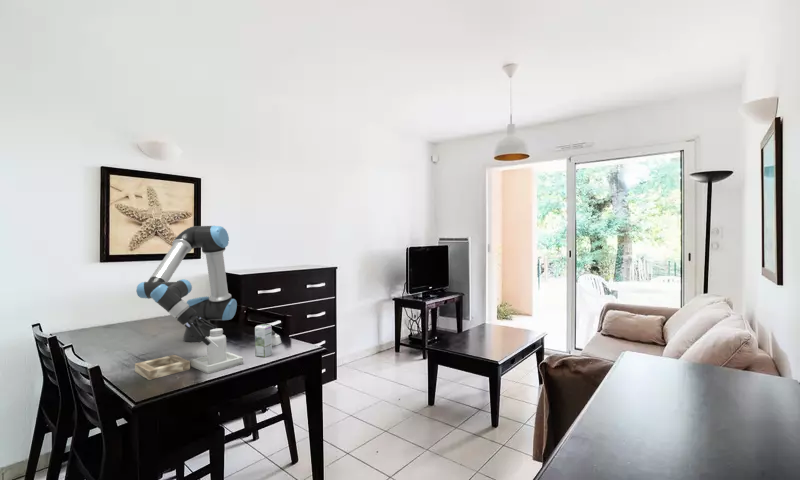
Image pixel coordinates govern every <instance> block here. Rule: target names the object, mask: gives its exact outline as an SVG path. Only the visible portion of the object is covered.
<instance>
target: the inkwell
mask: <svg viewBox="0 0 800 480" xmlns="http://www.w3.org/2000/svg"><path fill="white" fill-rule="evenodd" d="M280 344H282V340H281V336H280V335H279V334H277V333H276V332H275V331H274V330H273V329H272V347H274V346H279V345H280Z"/></svg>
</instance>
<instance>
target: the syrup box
mask: <svg viewBox="0 0 800 480" xmlns="http://www.w3.org/2000/svg"><path fill="white" fill-rule="evenodd" d="M272 330H273V329H272V325H271V324H257V325H256V326H255V327H254V344H255V346H254V347H255V351H254V352H255V357H262V358H267V357H269V356H271V355H273V346H272Z"/></svg>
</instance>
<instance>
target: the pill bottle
mask: <svg viewBox="0 0 800 480" xmlns="http://www.w3.org/2000/svg"><path fill="white" fill-rule="evenodd" d="M223 333H224V330H223V328H216V329H212V330H210V335H211V336H209V337H208V338H209V339H210V340H212V341H213V342H214V343H215V344H216V345H217V346H218V347H217V348H216V349H215V350H214V351H212V350H211V349H210V348H209V347H207V346H206V354H207V355H206V356H207V362H208V364H209V365H212V364H216V363H220V362H223V361H227V352H228V351H227V337H226V335H225V334H223Z"/></svg>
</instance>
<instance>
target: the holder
mask: <svg viewBox="0 0 800 480" xmlns="http://www.w3.org/2000/svg"><path fill="white" fill-rule="evenodd" d="M189 370H191V360H187V359H186V358H184V357H181V356H179V355H176V354H171V355H167V356H162V357H159V358H153V359H150V360H145V361H140V362H136V363H134V372H135V373H136V374H138V375H140V376H142V377H143V378H144V379H147V380H148V381H150V380H155V379H158V378H162V377H166V376H169V375H174V374H178V373H180V372H185V371H189Z"/></svg>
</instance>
